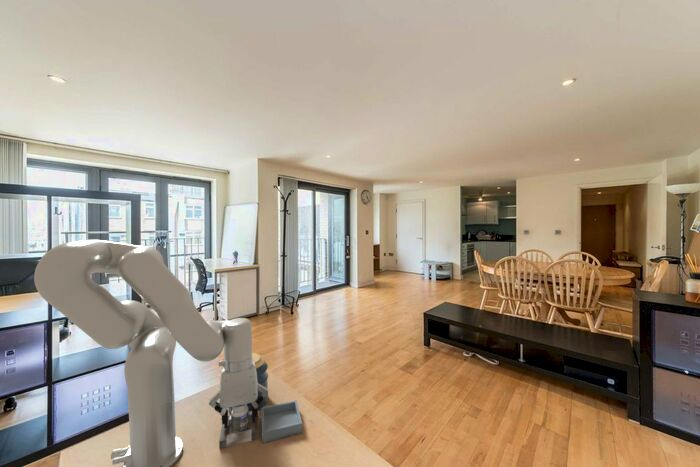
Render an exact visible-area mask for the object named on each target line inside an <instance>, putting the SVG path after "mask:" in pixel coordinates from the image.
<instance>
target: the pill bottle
mask: <svg viewBox="0 0 700 467" xmlns="http://www.w3.org/2000/svg"><path fill="white" fill-rule="evenodd" d="M248 411H249V410H248V407H247V404H243V405H238V406H233V407H232V412H230V413H231V414H230V415H231V426H230V427H231V430H230V432H231V434H234V433H238V432H242V431H246V430H250V429H249V428H250V421H249V413H248Z"/></svg>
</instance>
